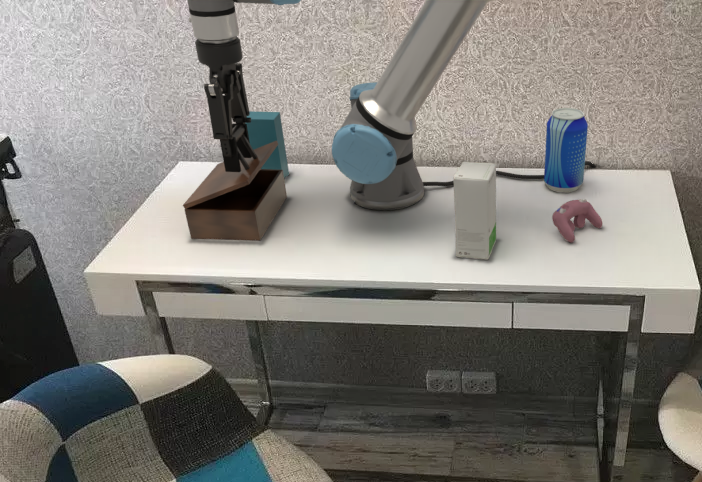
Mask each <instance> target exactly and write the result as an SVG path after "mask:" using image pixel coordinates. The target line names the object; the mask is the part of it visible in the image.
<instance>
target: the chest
mask: <svg viewBox="0 0 702 482" xmlns="http://www.w3.org/2000/svg"><path fill="white" fill-rule="evenodd" d="M287 198H288V195H287V188H286V181H285V178H284V174H283V170H277V169H260V170H259V172H258V173H257V174H256V176H255V177H254V179H253V180H252V181H251V183H250V184H249V185H246V186H243V187H241V188H238V189H236V190H233V191H230V192H228V193H225V194H223V195H220V196H217V197H215V198H212V199H210V200H207V201H204V202H202V203H199V204H197V205H194V206H191V207H189V208H186V209H185V208H184V214H185V218H186V222H187V226H188V230H189V235H190V239H192V240H216V241H217V240H218V241H219V240H220V241H221V240H223V241H252V242H253V241H254V242H256V241H257V242H261V241H262V238H263V237H264V236H265V234H266V233H267V231H268V229H269V228H270V226H271V224H272V223H273V220H275V217H276V216H277V214H278V213H279V211H280V210H281V208H282V206H283V204H284V203H285V202H286V200H287Z"/></svg>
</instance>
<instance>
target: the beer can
mask: <svg viewBox="0 0 702 482" xmlns="http://www.w3.org/2000/svg"><path fill="white" fill-rule="evenodd" d="M588 127H589V124H588V122H587V119H586V118H585V112H584V111H583V110H580V109H579V108H574V107H560V108H555V109H554V110H552V111H551V116H550V117H549V118H548V120H547V122H546V131H545V151H544V152H545V153H544V172H543V175H544V179H543V181H544V183H545V184H546V186H547V188H548V190H551V191H553V192H557V193H566V194H567V193H573V192H576V191H577V190H579V189H580V187H581V185H583V183H584V180H585V179H584V178H585V168H586V167H585V161H586V153H587V141H588V129H589V128H588Z"/></svg>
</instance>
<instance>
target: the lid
mask: <svg viewBox="0 0 702 482" xmlns="http://www.w3.org/2000/svg"><path fill="white" fill-rule="evenodd" d="M232 130H233V137H235V138H236V142H237V141H238V140H239V139H240V137H241V139H242V141H243V142H244V144H245V146H246V147H247V149H248V151H249V152H250V154H251V156H252V157H251V158H244V157H243V155H242V154H241V152H240V150H239V149H238V147H237V149H238V155H239V161H240V167H241V172H226V171H225V166H224V161H222V162H219V163H217V164H216V165H215V166H214V168H213V169H212V170H211V171H210V172H209V174H208V175H207V176H206V177H205V178H204V180H202V182H201V183H199V185H198V187H197V188H196V189H195V190H194V191H193V193H192V194H191V195H190V196H189V197H188V198H187V200H186V201H184V203H183V204H182V207H183V208H184V209H186V208H189V207H191V206H194V205H197V204H199V203H202V202H204V201H207V200H210V199H212V198H215V197H217V196H220V195H223V194H225V193H228V192H230V191H233V190H236V189H238V188H241V187H243V186H246V185H249V184H250V183H251V181H252V180H253V179H254V177H255V176H256V174H257V173H258V172H259V170H260V169H261V168H262V166H263V165H264V163H265V162H266V161H267V159H268V158H269V157H270V155H271V154H272V152H273V151H274V150H275V148H276V147H277V145H278V142H277V141H274V142H272V143H269V144H267V145H264V146H262V147H259V148H257V149H254V150H253V148H252V147H251V145H250V143H249V142H248V140H247V138H246V137H245V135H244V133H245V128H244V126H242V125H240V124H237V125H236V126H235V127H234V128H233V129H232Z"/></svg>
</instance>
